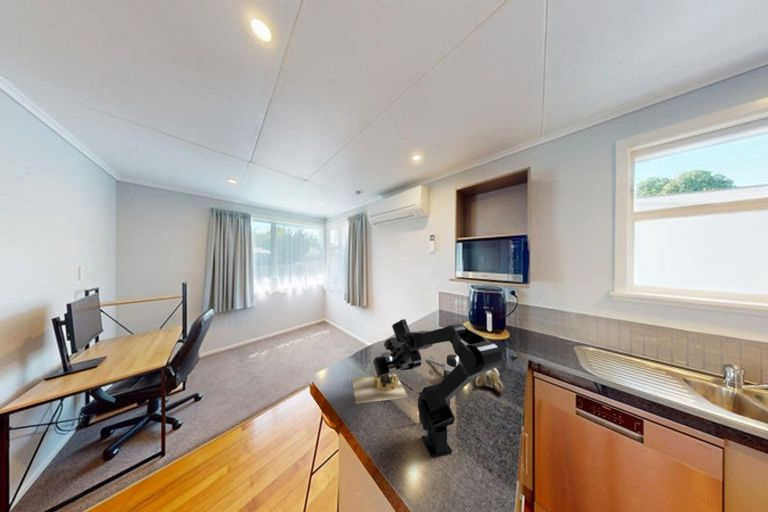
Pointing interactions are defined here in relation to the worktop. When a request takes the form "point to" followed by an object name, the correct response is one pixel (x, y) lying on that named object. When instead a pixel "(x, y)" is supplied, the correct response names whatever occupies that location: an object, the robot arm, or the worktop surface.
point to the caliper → (437, 363)
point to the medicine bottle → (450, 364)
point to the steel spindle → (389, 376)
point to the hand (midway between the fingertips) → (390, 371)
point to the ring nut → (387, 385)
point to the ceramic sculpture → (490, 380)
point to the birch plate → (374, 391)
